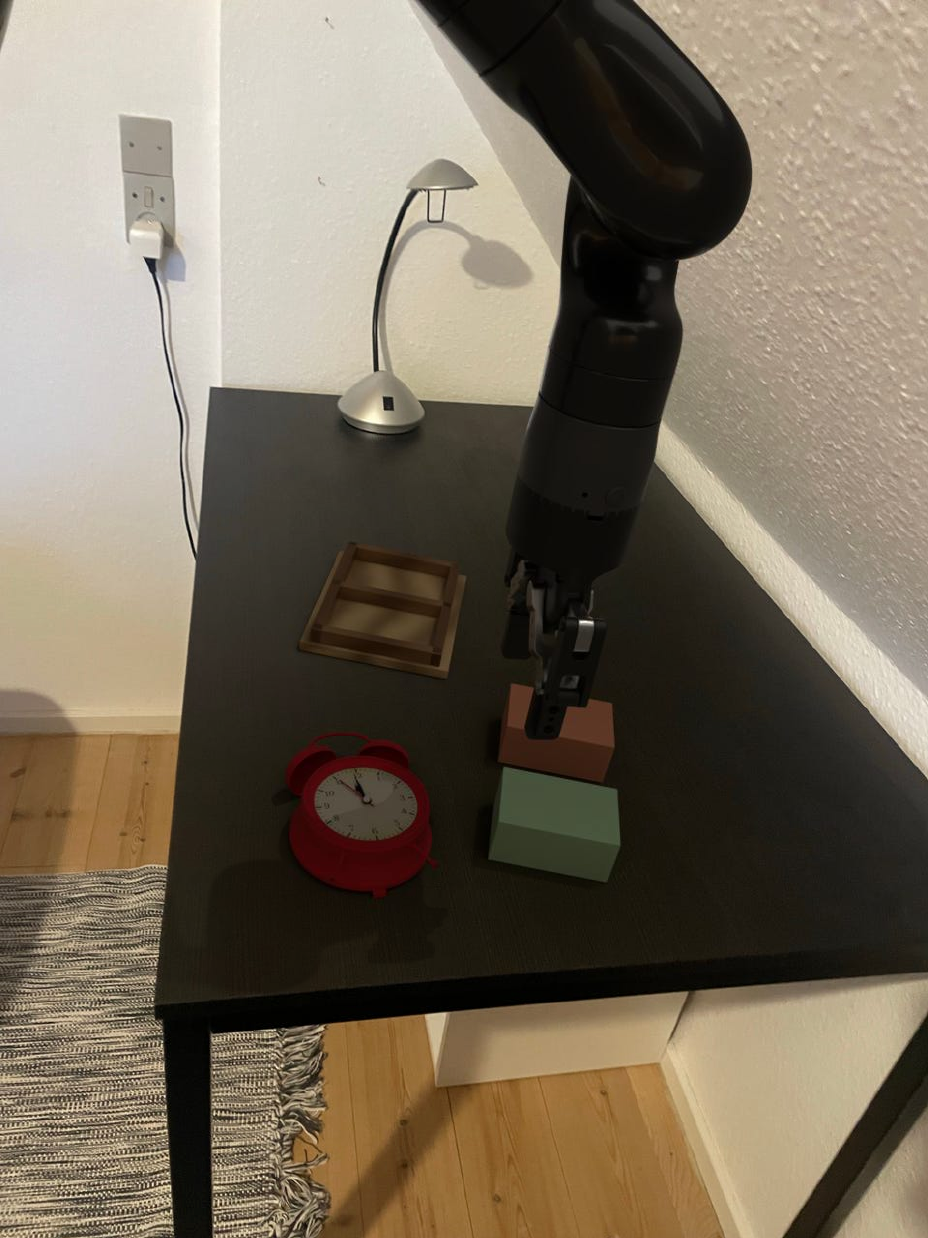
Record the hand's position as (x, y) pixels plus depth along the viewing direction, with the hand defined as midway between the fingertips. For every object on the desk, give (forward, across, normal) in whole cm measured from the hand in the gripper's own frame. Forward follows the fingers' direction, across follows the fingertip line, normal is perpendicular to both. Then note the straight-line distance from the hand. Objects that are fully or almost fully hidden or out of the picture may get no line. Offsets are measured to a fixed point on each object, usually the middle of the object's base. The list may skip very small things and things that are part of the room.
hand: (527, 694), depth 64 cm
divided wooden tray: (+14, -30, -5) cm, 34 cm away
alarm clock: (+14, -2, -10) cm, 18 cm away
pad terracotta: (+14, -11, +7) cm, 19 cm away
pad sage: (+14, 0, +5) cm, 15 cm away
